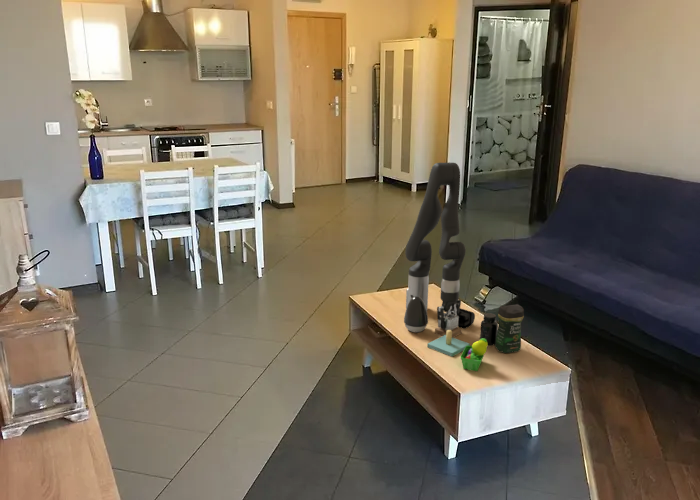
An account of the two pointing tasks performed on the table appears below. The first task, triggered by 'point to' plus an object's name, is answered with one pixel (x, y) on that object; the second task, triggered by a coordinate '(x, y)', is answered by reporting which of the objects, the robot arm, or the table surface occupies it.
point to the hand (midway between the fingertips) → (447, 325)
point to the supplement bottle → (489, 328)
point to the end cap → (465, 318)
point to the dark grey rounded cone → (416, 315)
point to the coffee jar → (509, 328)
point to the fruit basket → (474, 355)
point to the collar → (450, 322)
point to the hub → (448, 344)
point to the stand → (443, 331)
